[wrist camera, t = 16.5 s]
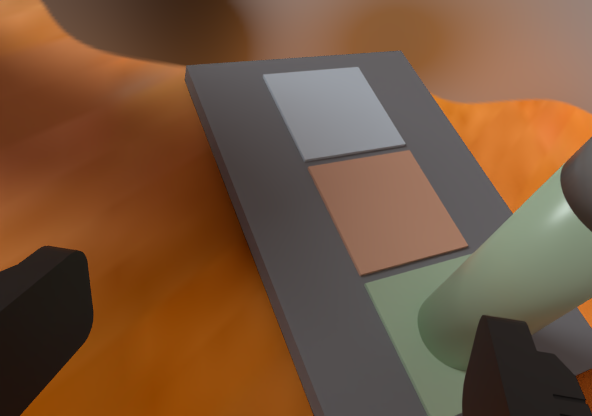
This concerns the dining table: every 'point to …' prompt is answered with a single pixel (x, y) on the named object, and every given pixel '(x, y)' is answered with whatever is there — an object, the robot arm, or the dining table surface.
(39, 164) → the dining table surface
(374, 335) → the picture board
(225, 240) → the dining table surface
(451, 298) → the green bottle grey cap
